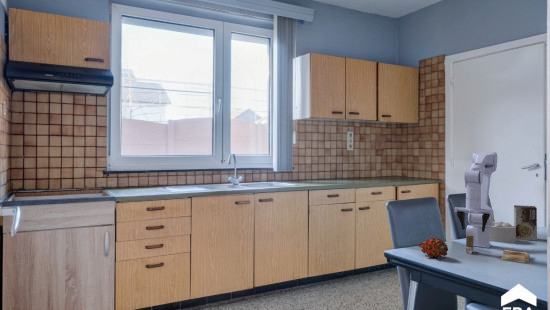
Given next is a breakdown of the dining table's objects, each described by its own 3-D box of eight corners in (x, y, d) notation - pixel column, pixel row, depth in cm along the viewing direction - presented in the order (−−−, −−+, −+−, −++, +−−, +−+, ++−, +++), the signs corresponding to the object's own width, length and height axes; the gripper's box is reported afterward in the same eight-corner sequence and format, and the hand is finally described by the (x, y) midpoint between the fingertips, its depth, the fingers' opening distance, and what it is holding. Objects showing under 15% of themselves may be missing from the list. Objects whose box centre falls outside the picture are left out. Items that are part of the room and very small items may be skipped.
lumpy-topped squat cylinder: (487, 236, 199) (487, 219, 199) (517, 240, 191) (517, 222, 191) (483, 240, 191) (483, 222, 191) (514, 244, 183) (514, 225, 182)
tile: (506, 260, 157) (506, 257, 157) (507, 256, 162) (507, 253, 162) (523, 262, 154) (523, 259, 154) (524, 259, 159) (524, 256, 159)
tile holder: (500, 259, 156) (500, 255, 156) (503, 253, 165) (503, 249, 165) (528, 263, 151) (528, 259, 151) (529, 257, 160) (529, 253, 160)
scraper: (465, 253, 165) (465, 236, 165) (467, 250, 170) (468, 234, 170) (471, 254, 164) (471, 237, 164) (474, 251, 169) (474, 235, 169)
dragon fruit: (449, 264, 154) (420, 262, 163) (455, 248, 159) (427, 247, 168) (441, 249, 151) (412, 247, 160) (447, 233, 157) (419, 233, 165)
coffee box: (534, 238, 195) (535, 205, 195) (537, 241, 189) (537, 207, 189) (513, 236, 199) (513, 204, 199) (515, 239, 193) (515, 206, 193)
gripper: (453, 198, 168) (452, 229, 168) (491, 200, 159) (491, 234, 160) (456, 196, 174) (456, 227, 174) (493, 199, 165) (493, 231, 165)
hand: (473, 230), depth 167 cm, fingers open, 7 cm apart
